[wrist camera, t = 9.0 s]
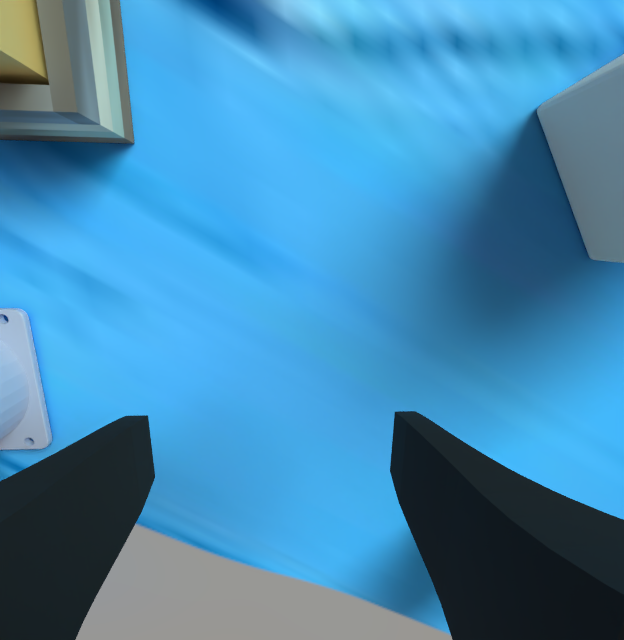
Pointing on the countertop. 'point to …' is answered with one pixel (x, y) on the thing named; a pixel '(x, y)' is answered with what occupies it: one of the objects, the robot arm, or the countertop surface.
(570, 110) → the soap bottle
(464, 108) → the countertop surface
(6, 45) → the ochre block
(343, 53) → the countertop surface
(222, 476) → the countertop surface
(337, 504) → the countertop surface
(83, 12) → the tower base
